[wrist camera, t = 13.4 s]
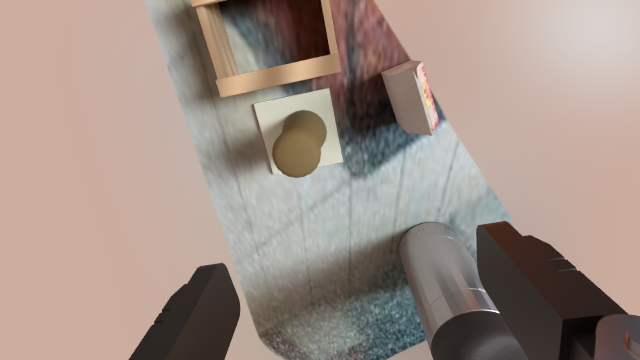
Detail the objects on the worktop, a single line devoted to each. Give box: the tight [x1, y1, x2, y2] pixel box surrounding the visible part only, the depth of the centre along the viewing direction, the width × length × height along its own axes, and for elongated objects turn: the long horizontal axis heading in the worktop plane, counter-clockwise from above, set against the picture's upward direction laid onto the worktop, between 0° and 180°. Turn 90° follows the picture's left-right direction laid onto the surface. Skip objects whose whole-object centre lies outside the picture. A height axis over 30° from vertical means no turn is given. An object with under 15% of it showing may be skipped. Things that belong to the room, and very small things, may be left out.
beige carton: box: [381, 60, 439, 136], centre depth 35 cm, size 4×7×10 cm, turn 23°
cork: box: [272, 110, 327, 178], centre depth 36 cm, size 6×6×11 cm
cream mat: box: [254, 88, 343, 174], centre depth 42 cm, size 10×10×1 cm
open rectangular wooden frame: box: [190, 0, 341, 97], centre depth 35 cm, size 14×11×6 cm
